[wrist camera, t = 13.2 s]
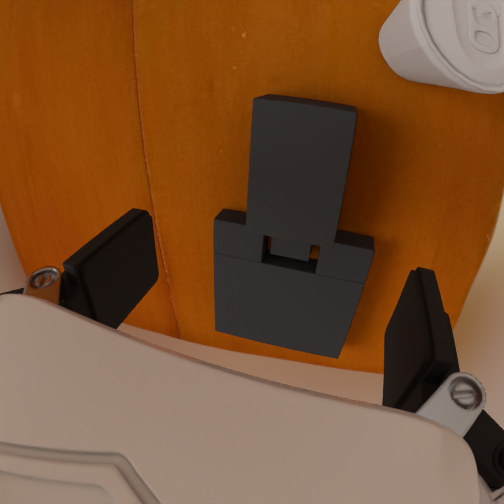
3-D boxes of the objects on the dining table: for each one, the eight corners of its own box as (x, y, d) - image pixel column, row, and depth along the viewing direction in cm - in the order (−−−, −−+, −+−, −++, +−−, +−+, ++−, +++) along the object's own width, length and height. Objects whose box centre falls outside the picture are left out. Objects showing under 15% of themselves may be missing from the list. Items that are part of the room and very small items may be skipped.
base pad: (373, 237, 23) (375, 250, 22) (339, 343, 30) (337, 359, 28) (222, 208, 26) (213, 219, 24) (222, 317, 32) (215, 330, 31)
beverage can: (446, 21, 14) (535, -16, 4) (446, 87, 16) (541, 112, 6) (375, 9, 15) (405, -57, 5) (377, 77, 17) (415, 80, 8)
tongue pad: (355, 106, 19) (357, 112, 16) (329, 254, 25) (325, 280, 22) (266, 94, 20) (252, 98, 17) (256, 239, 26) (243, 263, 24)
